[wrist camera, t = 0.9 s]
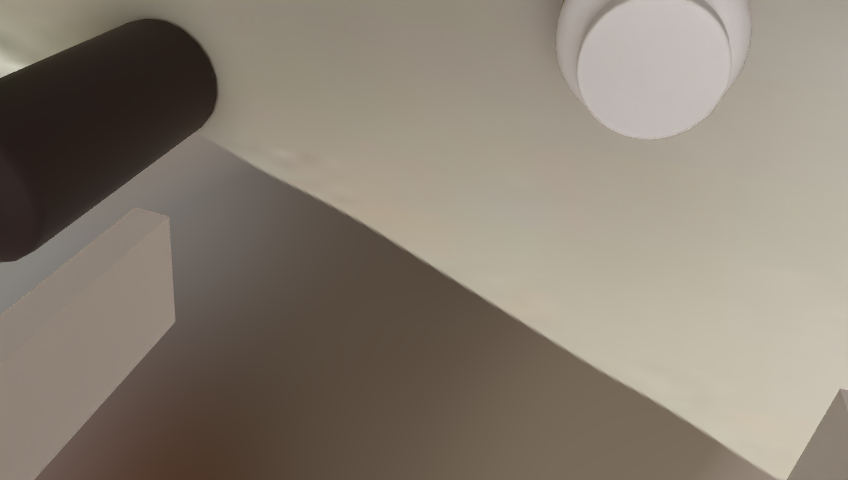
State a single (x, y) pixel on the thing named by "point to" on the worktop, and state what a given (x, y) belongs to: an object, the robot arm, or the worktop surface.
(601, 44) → the supplement bottle
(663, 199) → the worktop surface
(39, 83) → the vinegar
